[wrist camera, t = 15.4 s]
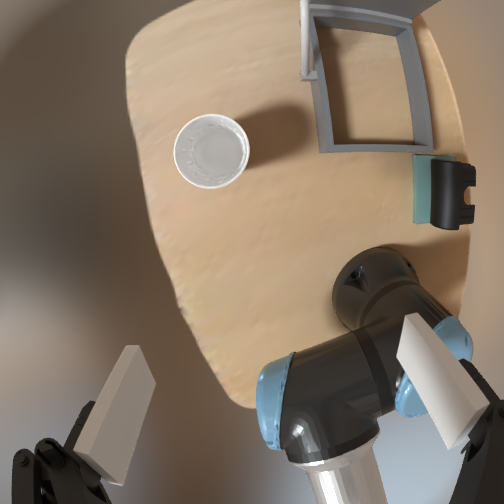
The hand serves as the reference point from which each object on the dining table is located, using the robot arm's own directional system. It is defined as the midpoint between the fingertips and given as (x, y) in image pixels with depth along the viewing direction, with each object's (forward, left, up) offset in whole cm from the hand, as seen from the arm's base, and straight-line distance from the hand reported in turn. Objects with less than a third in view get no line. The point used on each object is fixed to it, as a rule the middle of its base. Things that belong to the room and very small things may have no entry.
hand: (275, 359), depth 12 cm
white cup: (+10, +4, -29) cm, 31 cm away
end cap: (+3, -30, -28) cm, 41 cm away
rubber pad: (+2, -30, -29) cm, 41 cm away
